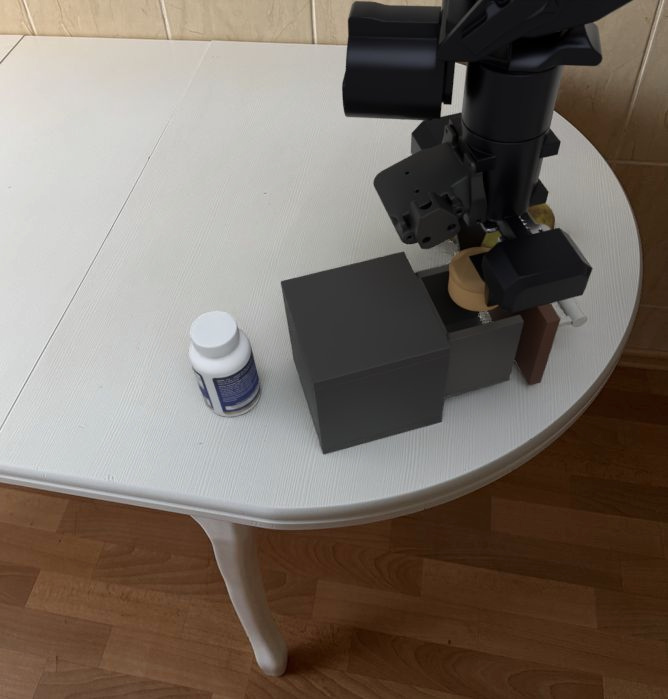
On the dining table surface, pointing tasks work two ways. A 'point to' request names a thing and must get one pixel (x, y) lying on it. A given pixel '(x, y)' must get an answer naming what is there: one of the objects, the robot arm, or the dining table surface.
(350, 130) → the dining table surface
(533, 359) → the drawer
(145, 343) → the dining table surface
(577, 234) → the dining table surface
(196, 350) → the pill bottle
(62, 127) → the dining table surface
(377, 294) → the dark grey cube
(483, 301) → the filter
